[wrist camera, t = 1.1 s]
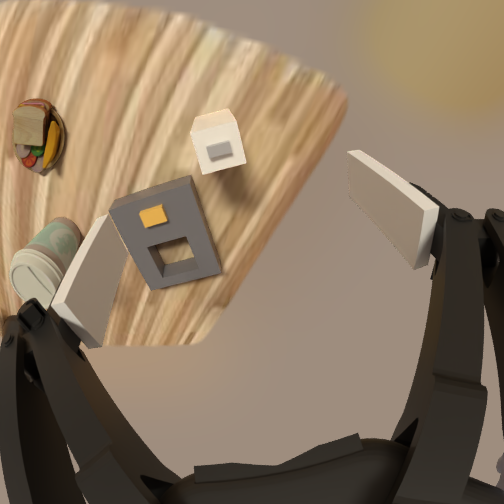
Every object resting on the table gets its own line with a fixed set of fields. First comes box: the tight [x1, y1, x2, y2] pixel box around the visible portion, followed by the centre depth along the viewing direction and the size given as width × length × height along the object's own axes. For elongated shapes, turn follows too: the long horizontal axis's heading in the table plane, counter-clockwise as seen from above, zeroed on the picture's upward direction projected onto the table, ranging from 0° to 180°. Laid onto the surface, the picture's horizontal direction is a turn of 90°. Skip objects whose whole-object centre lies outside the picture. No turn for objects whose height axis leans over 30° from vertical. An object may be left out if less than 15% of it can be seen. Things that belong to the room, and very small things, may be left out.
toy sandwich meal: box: [12, 99, 65, 173], centre depth 25 cm, size 9×10×4 cm
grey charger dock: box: [108, 175, 221, 290], centre depth 37 cm, size 11×14×4 cm
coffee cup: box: [9, 217, 81, 309], centre depth 30 cm, size 9×9×12 cm
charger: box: [190, 108, 246, 175], centre depth 27 cm, size 4×4×11 cm
